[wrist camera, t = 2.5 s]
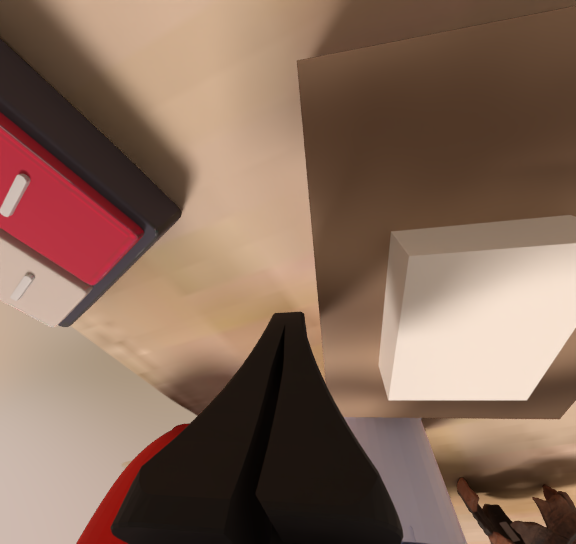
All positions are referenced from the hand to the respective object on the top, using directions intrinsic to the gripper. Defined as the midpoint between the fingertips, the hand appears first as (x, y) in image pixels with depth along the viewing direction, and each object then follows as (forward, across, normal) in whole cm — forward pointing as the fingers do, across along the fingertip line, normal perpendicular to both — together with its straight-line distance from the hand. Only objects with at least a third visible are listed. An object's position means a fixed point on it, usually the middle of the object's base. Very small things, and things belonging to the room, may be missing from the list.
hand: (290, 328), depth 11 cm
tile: (+1, -7, 0) cm, 7 cm away
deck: (+4, -8, 0) cm, 9 cm away
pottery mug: (+5, -20, +32) cm, 38 cm away
